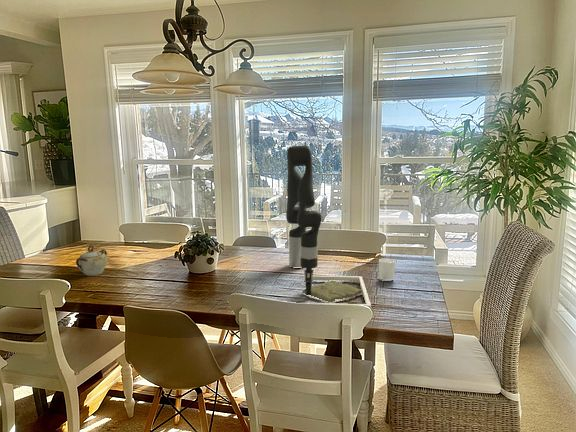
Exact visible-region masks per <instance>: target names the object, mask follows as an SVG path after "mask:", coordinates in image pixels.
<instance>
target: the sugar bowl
mask: <svg viewBox="0 0 576 432" xmlns="http://www.w3.org/2000/svg"><path fill="white" fill-rule="evenodd" d="M107 255H108V252H107V250H106V249H101V250H99V251H97V250H95V247H94V246H93V245H89V246H88V247H87V251H86V252H84V253H81V254H80V255H79V256H78V257H77V259H76V261H75V264H76V266H77V268H78V270H80V271H81V272H82V273H83V274H84V275H85V276H88V277H91V276H92V277H93V276H98V275H101V274H102V273H103V272H104V270H105V269H106V267H107V265H108V263H109V257H108V256H107Z"/></svg>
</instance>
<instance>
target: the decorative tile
mask: <svg viewBox="0 0 576 432" xmlns="http://www.w3.org/2000/svg"><path fill="white" fill-rule="evenodd" d="M361 292H362V291H361V289H360V288H357V287H354V286H352V285H350V284H349V283H341V282H336V281H330V282H326V283H320V284H317V285H312V286H311V296H314V297H317V298H319V299H322V300H325V301H328V302H333V301H335V299H343V298H347V297H353V296H354V295H357V294H359V293H361ZM303 293H305V294H306V288H305V289H304V290H302V294H303Z"/></svg>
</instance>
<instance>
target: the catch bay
mask: <svg viewBox="0 0 576 432" xmlns="http://www.w3.org/2000/svg"><path fill="white" fill-rule="evenodd" d="M313 280H359V282H360V286H361V290H362V293H363V296H362V298H363V297H364V300H365V303H366V304H365V303H358V304H359V305H365V306H368V307H370V308H371V309H372V303H371V301H370V298H369V294H368V291H367V289H366V285H365V281H364V278H363V276H358V275H353V276H352V275H314V274H313ZM360 286H359V287H360ZM364 300H363V301H364ZM314 303H315V304H347V303H344V302H339V303H323V302H314Z"/></svg>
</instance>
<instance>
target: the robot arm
mask: <svg viewBox="0 0 576 432" xmlns="http://www.w3.org/2000/svg"><path fill="white" fill-rule="evenodd" d="M286 152H287V153H286V160H287V161H286V162H287V185H286V186H287V187H286V188H287V189H286V193H287V194H286V197H287V198H286V199H287V202H286V214H285V215H286V217H285V219H286V222H287V223H288V224H291V225H293V224H294V225H298V226H297V227H295V228H293V229H290V230H289V232H288V257H289V258H288V267H289V266H291V267H303V268H302V269H304V271H303V273H304V282H305V289H306V295H311V287H313V285H312V283H313V282H312V281H313V275H314V269H315V268H317V267H318V257H319V256H318V255H319V253H318V236H319V231H320V227H321V224H322V214H321V212H320V211H318V210H307V209H310V208H312V207H314V206H315V205H316V201H315V194H314V193H315V192H314V186H313V185H314V184H313V183H314V182H313V155H312V149H311V147H310V145H306V144H305V145H304V144H303V145H292V146H289V147H288V148H287V151H286ZM304 166H305V170H304V173H303V176H302V175H301V174H300V172H299V171H298V170H297V169H296V167H304ZM297 204H298V206H296V205H297ZM307 228H310V230H307Z"/></svg>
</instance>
